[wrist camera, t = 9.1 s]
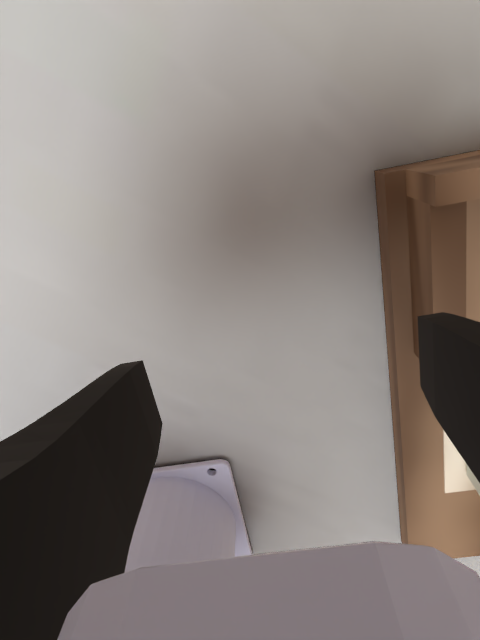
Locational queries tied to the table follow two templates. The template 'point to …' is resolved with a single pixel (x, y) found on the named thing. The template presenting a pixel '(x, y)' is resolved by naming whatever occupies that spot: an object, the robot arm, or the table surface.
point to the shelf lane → (402, 336)
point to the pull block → (473, 480)
